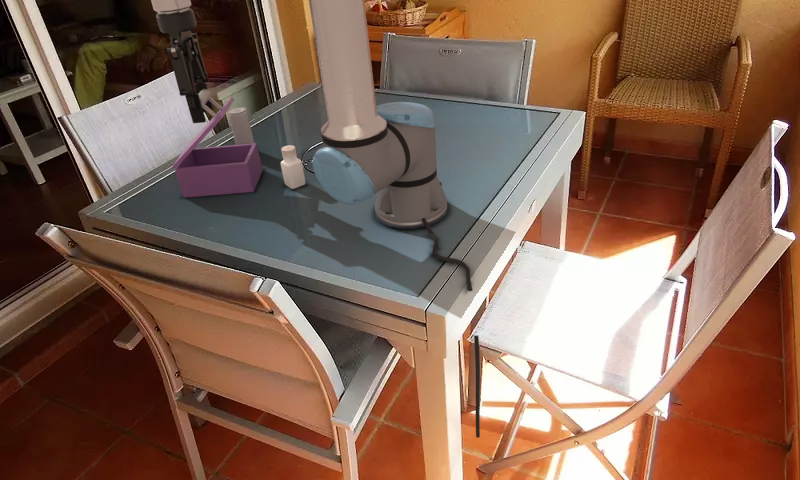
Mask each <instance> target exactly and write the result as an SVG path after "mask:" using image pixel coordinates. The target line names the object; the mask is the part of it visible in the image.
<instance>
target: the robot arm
mask: <svg viewBox="0 0 800 480" xmlns="http://www.w3.org/2000/svg"><path fill="white" fill-rule="evenodd" d="M150 1H151V5H152V9H153V11H154V12H156V15H155V18H156V21H157V25H158V28H159V31H160V32H161V33H162V34H168V35H169V39H170V46H171V47H167V49H166V53H167V54H168V56H169V59H170V62H171V65H172V69H173V73H174V78H175V80H176V84H177V88H178V92H179V96H180V97H185V99H186V104H187V107H188V110H189V114H190V117H191V121H192V124H203V123H206V122H207V120H206V116H205V113H208V112H207V111H206V110H205V109H204V108H202V105H201V101H200V98H199V93H200V91H201V90H203V89H207V90H209V89H208V84H207V83H210V77H209V73H208V71H207V68H206V64H205V60H204V58H203V57H204V56H203V54H202V51H201V47H200V42H199V37H198V33H197V32H193V33H192V30H196V28H197V26H198V24H197V19H196V15H195V12H194V9H192V8H191V6H192V1H191V0H150ZM365 2H366V1H365V0H308V4H309V11H310V16H311V17H310V18H311V23H312V29H313V36H314V42H315V49H316V54H317V60H318V66H319V73H320V77H321V78H320V80H321V85H322V91H323V97H324V98H323V99H324V104H325V109H326V116H327V119H326V121H325V122H324V124H323V125H322V126H321V128H320V134H321V140H322V147H319V148H318V149H317V150H316V152H315V153H314V155H313V157H312V171H313V173H314V175H315V178H316V180H317V181H318V183H319V185H320V186H321V187H322V189H323V190H324V191H326V193H327V194H328V195H329V196H330V197H331V198H333V200H336V201H337V202H339V203H342V204H344V205H349V206H353V205H358V204H360V203H362V202H364V201H366V200H370V199H372V198H373V196H374V195H376V194H377V195H376V199H375V203H374V212H375V217H376V219H377V221H379V223H381V224H383V225H384V226H386V227H390V228H393V229H398V230H417V229H423V228H425V229H426V230H427V232H428V233H429V236H430V237H431V239H432V241H433V247H432V255H433V256H434V257H435V259H437V260H439V261H440V262H446V263H451V264H457V265H459V266H461V267H462V268H463V269H464V271H465V281H466V287H467V291H469V292H473V286H472V281H471V269H470V267H469V265H467V264H466V263H465V262H464V261H462V260H460V259H457V258H452V257H446V256H442V255H440V254H439V253H438V248H439V240H438V237H437V235H436V234H435V232H434V231H433V229H432V228H431V226H432V225H434V224H436V223H438V222H440V221H441V220H442V219H444V217H445V216H446V215H447V213H448V200H447V196H446V195H445V194H446V193H445V192H444V190H443V183H442V182H441V181H440V179H439V177H438V171H437V169H438V165H437V145H436V143H437V142H436V124H435V115H434V112H433V111H432V109H431V108H430V107H429V106H428V105H426V104H421V103H418V102H410V101H394V102H386V103H381V104H379V105H377V101H376V95H375V94H376V91H375V84H374V74H373V66H372V65H373V64H372V56H371V49H370V48H371V47H370V39H369V30H368V29H369V28H368V21H367V12H366V3H365ZM205 105H206V106H207V107H209V108H210V109H211V110H212V111H213V112H214V107H213V104H212V103H211V102H210V101H209V100H208V101H207V102H206V104H205ZM479 337H480V336H479V335H478V334H477V335H473V341H474V342H473V343H474V360H475V361H474V362H475V364H474V365H475V366H474V367H475V437H476V438H477V439H479V438H480V436H481V431H480V429H481V426H480V424H481V422H480V412H481V411H480V409H481V407H480V405H481V404H480V403H481V402H480V401H481V400H480V399H481V397H480V396H481V360H480V359H481V357H480V338H479Z"/></svg>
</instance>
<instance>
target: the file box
mask: <svg viewBox="0 0 800 480" xmlns="http://www.w3.org/2000/svg"><path fill="white" fill-rule="evenodd" d="M263 171H264V169H263V165H262V160H261V156H260V152H259V148H258V144H257V142H254V143H252V144H240V145H236V144H230V145H217V146H207V147H206V146H205V147H195V148H194V149H193V150H192V151H191V153H190V154H189V155H188V156H187V157H186V158H185V159H184V160H183V161H182V162H181V163H180V164H179V166H178V167H177V168H176V169H175V168H174V172H175V175H176V178H177V182H178V184H179V188H180V190H181V195H182V197H183V198H198V197H210V196H221V195H233V194H245V193H254V192H255V191H256V189H257V186H258V183H259V181H260V178H261V175H262V173H263Z"/></svg>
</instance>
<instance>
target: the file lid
mask: <svg viewBox="0 0 800 480" xmlns="http://www.w3.org/2000/svg"><path fill="white" fill-rule="evenodd" d="M210 91H211V90H209V89H208V90H207V89H203V90H201V91H200V93H199V98H200V101H201V105H202V108H204V109H205V110H206V111H207V112H206V113H208V114H209V115H210V116H212V118H211V119H210V120H209V121H208V122H207V123H206V124H205V126H204V127H202V128H201V130H200V131H199V132H198V133H197V134H196V135H195V136H194V137H193V139H192V140H191V141H190V142H189V143H188V144H187V145H186V147H185V148H184V149H183V150H182V152H181V154H179V156H178V158H177V159H176V160H175V162H174V163H173V165H172V167H173V168H174V170H175V169H176V168H177V167H178V166H179V164H180V163H181V162H182V161H183V160H184V159H185V158H186V157H187V156H188V155H189V154H190V153H191V151H192V150H193V149H194V148H197V146H198V145H199V144H200V143H201V142H202V141H203V140H204V138H206V136H207V135H209V134H210V132H211V131H212V130H213V129H214V128H215V127H216V126H217V124H219V122H220V121H221V120H222V119H223V118H224V117H225V115H226V113H228V111H229V110H230V107H231V106H232V104H233V103H234V101H235V98H234V97H232V96H231V97H230V98H229V99H228V100H227V101H226V102H225V104H224V105H223V106H222V105H220V103H218V102H217V101H216V100H215V99H214V98H213V97H212V93H211V92H210ZM208 100H209V101H210V102H211V103H212V106H213V105H214V107H216V109H218V111H217V112H214V111H212V110H211V109H210V108H209V107H207V106H206V105H205V104H206V102H207V101H208Z"/></svg>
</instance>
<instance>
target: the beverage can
mask: <svg viewBox="0 0 800 480" xmlns="http://www.w3.org/2000/svg"><path fill="white" fill-rule="evenodd" d="M227 113H228V114H227V115H228V119H229V123H230V127H231V131H232V136H233V139H234V143H235V145H240V144H252V143H255V140H254V136H253V132H252V131H253V130H252V127H251V122H250V119H249V113H248V110H247V108H246V107H243V106H236V107H233V108H229V109H228V110H227Z"/></svg>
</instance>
